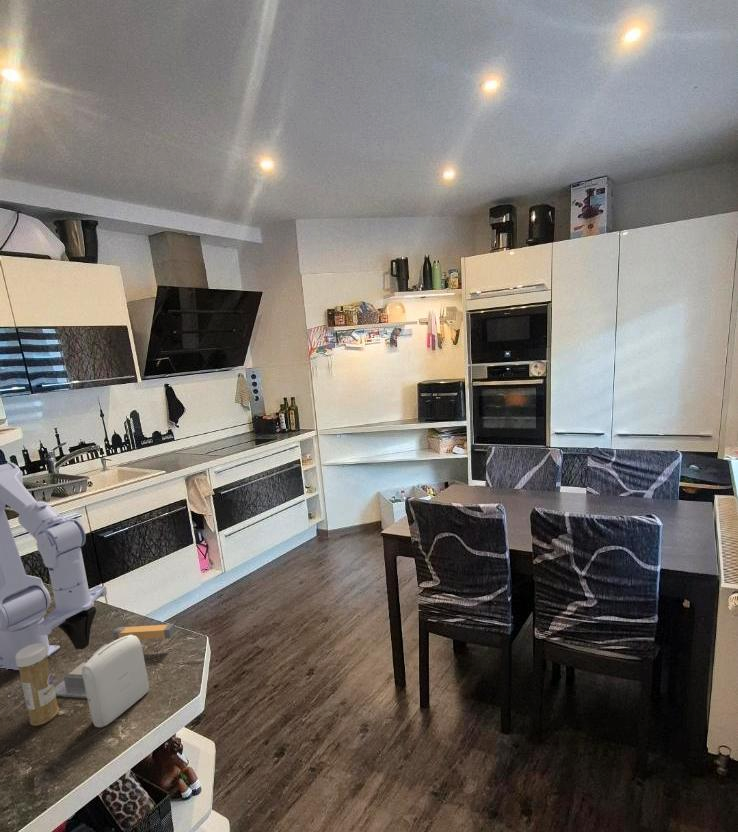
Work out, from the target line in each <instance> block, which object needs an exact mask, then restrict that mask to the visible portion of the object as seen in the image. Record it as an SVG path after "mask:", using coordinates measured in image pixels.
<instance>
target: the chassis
mask: <svg viewBox="0 0 738 832" xmlns="http://www.w3.org/2000/svg"><path fill="white" fill-rule="evenodd" d="M110 643H111V642H105V643H104V644H102V645H101V646H100V647H99V648H97V649H96V650H95V651H94V652H93V653H91V654H90V655H89V656H88V657H87V660H83V661H81V662H80V663H78V665H77V666H75V667H74V668H73V669H72V670H70V672H68V673H67V674H66V675H64V676H63V680H62V681H61V682H60V683H58V684H57V685H56V686H54V688H55V693H56V695H55V696H56V697H62V698H63V697H65V698H79V699H87V694H86V690H85V685H84V680H83V676H82V668H83V666H84V665H85V664H86V663H87V661H88V660H89V659H90V658H91V657H92V656H94V655H95V654H96V653H97V652H98V651H100V650H101V649H102V648H104V647H105V646H107V645H108V644H110ZM141 646H142V650H143V649H144V648H145V644H141Z"/></svg>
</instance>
